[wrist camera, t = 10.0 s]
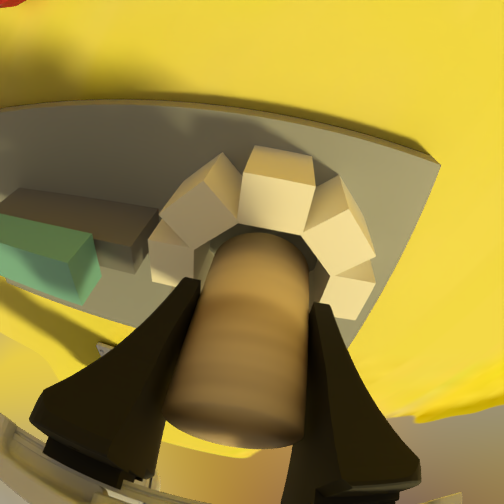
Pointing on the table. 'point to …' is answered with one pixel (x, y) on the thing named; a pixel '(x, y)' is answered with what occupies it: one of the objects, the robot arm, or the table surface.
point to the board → (179, 147)
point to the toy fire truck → (10, 3)
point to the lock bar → (48, 258)
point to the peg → (246, 348)
